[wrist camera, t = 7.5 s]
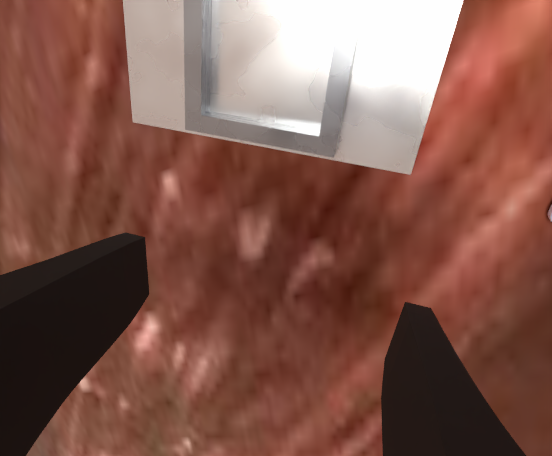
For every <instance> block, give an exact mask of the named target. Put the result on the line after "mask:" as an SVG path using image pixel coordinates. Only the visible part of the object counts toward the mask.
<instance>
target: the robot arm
mask: <svg viewBox="0 0 552 456" xmlns="http://www.w3.org/2000/svg"><path fill="white" fill-rule="evenodd" d="M548 217H549V219H550V221H551V222H552V205H551V207H550V209H549V211H548ZM148 295H149V285H148V272H147V259H146V245H145V237H141V236H137V235H133V234H129V233H123V234H119V235H116V236H112V237H109V238H106V239H104V240H101V241H98V242H95V243H92V244H90V245H87V246H84V247H81V248H79V249H76V250H73V251H70V252H68V253H65V254H62V255H59V256H56V257H54V258H51V259H48V260H45V261H42V262H39V263H36V264H33V265H30V266H27V267H24V268H21V269H18V270H15V271H12V272H9V273H6V274H3V275H0V456H26V454H27V453H28V451H29V450H30V449H31V447H32V446H33V444H34V443H35V441H36V440H37V438H38V437H39V435H40V434H41V432H42V431H43V430H44V428H45V427H46V425H47V424H48V423H49V421H50V420H51V418H52V417H53V416H54V414H55V413H56V411H57V410H58V409H59V407H60V406H61V404H62V403H63V402H64V401H65V399H66V398H67V397H68V396H69V394H70V393H71V392H72V391H73V389H74V388H75V387H76V386H77V385H78V383H79V382H80V381H81V380H82V379H83V378H84V376H85V375H86V374H87V373H88V372H89V371H90V370H91V368H92V367H93V366H94V365H95V364H96V363H97V362H98V360H99V359H100V358H101V357H102V356H103V355H104V353H105V352H106V351H107V350H108V349H109V348H110V347H111V345H112V344H113V343H114V342H115V341H116V340H117V338H118V337H119V336H120V335H121V334H122V333H123V331H124V330H125V329H126V328H127V327H128V325H129V324H130V323H131V321H132V320H133V318H134V317H135V316H136V314H137V313H138V311H139V310H140V308H141V306H142V305H143V303H144V302H145V300H146V298H147V297H148ZM381 403H382V441H383V456H526V455H525V454H524V452H523V451H522V450H521V448H520V447H519V446H518V445H517V443H516V442H515V441H514V439H513V438H512V437H511V435H510V434H509V433H508V431H507V430H506V429H505V427H504V426H503V425H502V423H501V422H500V420H499V419H498V418H497V416H496V415H495V413H494V412H493V410H492V409H491V407H490V406H489V405H488V403H487V402H486V400H485V399H484V397H483V396H482V394H481V393H480V391H479V390H478V388H477V386H476V385H475V383H474V382H473V380H472V378H471V377H470V375H469V374H468V372H467V370H466V369H465V367H464V365H463V364H462V362H461V361H460V359H459V357H458V355H457V354H456V352H455V350H454V349H453V347H452V345H451V343H450V342H449V340H448V338H447V336H446V335H445V333H444V331H443V329H442V327H441V325H440V324H439V322H438V320H437V318H436V316H435V315H434V313H433V311H432V310H431V308H428V307H424V306H420V305H416V304H412V303H408V302H405V304H404V307H403V309H402V312H401V315H400V318H399V321H398V323H397V326H396V329H395V332H394V335H393V338H392V340H391V343H390V346H389V349H388V352H387V354H386V357H385V362H384V373H383V384H382V396H381Z"/></svg>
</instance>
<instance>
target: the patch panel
mask: <svg viewBox="0 0 552 456" xmlns="http://www.w3.org/2000/svg"><path fill="white" fill-rule="evenodd" d="M462 3H463V0H123V8H124V20H125V32H126V45H127V57H128V70H129V82H130V95H131V107H132V119H133V122H135V123H140V124H145V125H150V126H156V127H161V128H166V129H172V130H177V131H182V132H187V133H193V134H198V135H203V136H208V137H214V138H219V139H224V140H230V141H235V142H240V143H245V144H251V145H256V146H261V147H267V148H272V149H277V150H282V151H288V152H293V153H298V154H303V155H309V156H314V157H319V158H325V159H330V160H335V161H340V162H346V163H351V164H356V165H362V166H367V167H372V168H377V169H383V170H388V171H393V172H399V173H404V174H409V175H411V173H412V169H413V166H414V163H415V159H416V156H417V153H418V149H419V146H420V143H421V139H422V136H423V133H424V129H425V126H426V123H427V119H428V116H429V113H430V109H431V106H432V103H433V99H434V96H435V93H436V89H437V86H438V83H439V79H440V76H441V73H442V69H443V66H444V63H445V59H446V56H447V53H448V49H449V46H450V43H451V39H452V36H453V33H454V29H455V26H456V23H457V19H458V16H459V13H460V9H461V6H462Z"/></svg>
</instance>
